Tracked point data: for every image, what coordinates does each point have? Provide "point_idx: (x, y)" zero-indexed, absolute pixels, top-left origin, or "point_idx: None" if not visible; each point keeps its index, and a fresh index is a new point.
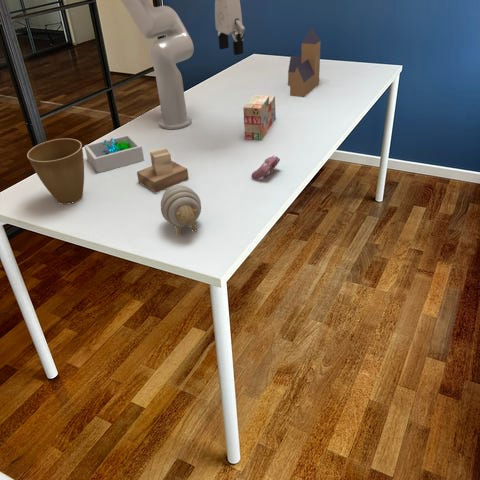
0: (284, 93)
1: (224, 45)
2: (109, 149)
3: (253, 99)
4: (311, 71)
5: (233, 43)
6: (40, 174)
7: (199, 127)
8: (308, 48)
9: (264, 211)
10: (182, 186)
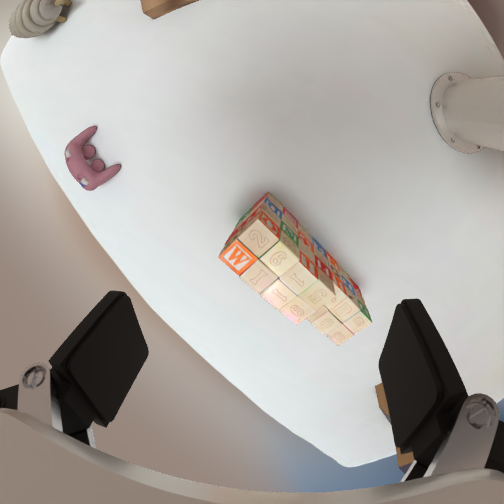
0: None
1: (395, 354)
2: None
3: (299, 279)
4: None
5: (61, 351)
6: None
7: (411, 140)
8: (410, 456)
9: (32, 117)
10: (22, 13)
